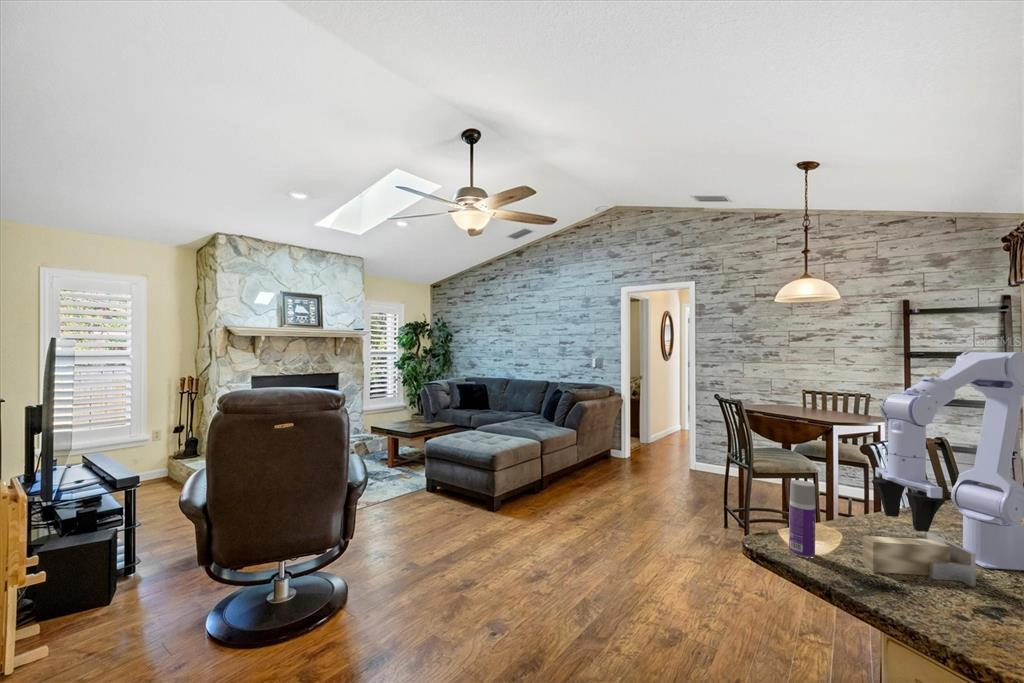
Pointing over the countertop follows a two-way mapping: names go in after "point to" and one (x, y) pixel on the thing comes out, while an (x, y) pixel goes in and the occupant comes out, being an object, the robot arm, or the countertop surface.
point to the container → (802, 518)
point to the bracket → (954, 563)
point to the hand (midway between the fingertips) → (905, 523)
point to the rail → (903, 554)
